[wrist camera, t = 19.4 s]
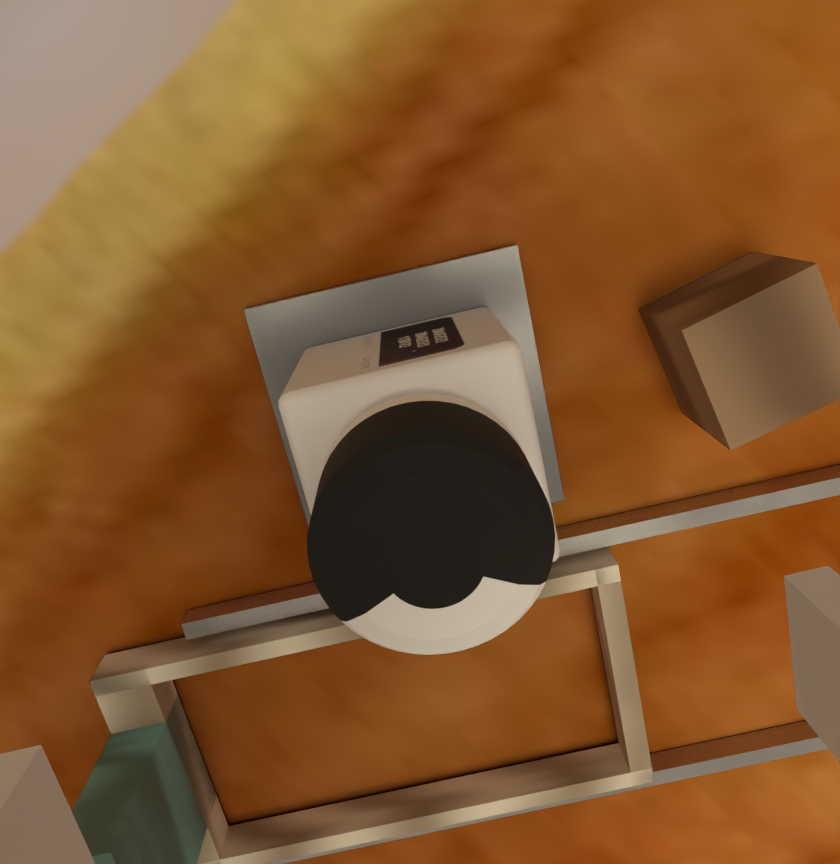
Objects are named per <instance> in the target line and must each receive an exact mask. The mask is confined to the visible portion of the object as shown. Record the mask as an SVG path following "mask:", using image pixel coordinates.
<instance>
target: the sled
mask: <svg viewBox="0 0 840 864" xmlns="http://www.w3.org/2000/svg"><path fill="white" fill-rule="evenodd" d="M587 588H591V592H592V598H593V604H594V609H595V615H596V620H597V626H598V631H599V637H600V642H601V648H602V654H603V659H604V665H605V670H606V676H607V681H608V687H609V692H610V698H611V703H612V709H613V715H614V720H615V726H616V731H617V737H618V742H619V743H617V744H612V745H607V746H603V747H598V748H593V749H589V750H584V751H579V752H575V753H570V754H565V755H561V756H556V757H551V758H546V759H542V760H537V761H532V762H528V763H523V764H518V765H514V766H509V767H504V768H500V769H495V770H490V771H486V772H481V773H476V774H471V775H467V776H462V777H457V778H453V779H448V780H443V781H439V782H434V783H429V784H425V785H420V786H415V787H410V788H406V789H401V790H396V791H392V792H387V793H382V794H378V795H373V796H368V797H364V798H359V799H354V800H349V801H345V802H340V803H335V804H331V805H326V806H321V807H317V808H312V809H307V810H303V811H298V812H293V813H289V814H284V815H279V816H274V817H270V818H265V819H260V820H256V821H251V822H246V823H242V824H237V825H232V826H228V823H227V821H226V818H225V816H224V813H223V810H222V808H221V805H220V803H219V800H218V797H217V795H216V792H215V790H214V787H213V784H212V782H211V779H210V777H209V774H208V771H207V769H206V766H205V764H204V761H203V759H202V756H201V753H200V751H199V748H198V746H197V743H196V740H195V738H194V735H193V733H192V730H191V727H190V725H189V722H188V720H187V717H186V714H185V712H184V709H183V707H182V704H181V702H180V699H179V696H178V694H177V691H176V689H175V686H174V683H173V681H172V680H174V679H179V678H183V677H188V676H192V675H197V674H202V673H206V672H211V671H215V670H220V669H224V668H229V667H233V666H238V665H242V664H247V663H251V662H256V661H261V660H265V659H270V658H274V657H279V656H283V655H288V654H292V653H297V652H301V651H306V650H310V649H315V648H320V647H324V646H329V645H333V644H338V643H342V642H347V641H351V640H356V639H360V638H363V637H362V636H360V635H359V634H357V633H355V632H354V631H352V630H351V629H350V628H349V627H347V626H346V625H345V624H344V623H343V622H341V621H340V620H339V619H338V617H337V616H336V615H335V614H334V613H333V612H332V611H331V610H330V609H329V608H328V609H323V610H319V611H314V612H310V613H305V614H301V615H296V616H292V617H287V618H283V619H278V620H274V621H269V622H265V623H260V624H256V625H251V626H247V627H242V628H238V629H233V630H229V631H224V632H220V633H215V634H211V635H206V636H202V637H197V638H193V639H188V640H187V639H186V637H184V638H179V639H175V640H170V641H166V642H161V643H157V644H152V645H148V646H143V647H139V648H134V649H130V650H125V651H121V652H116V653H112V654H107V655H105V656H104V658H103V659H102V661H101V663H100V664H99V666H98V668H97V669H96V671H95V673H94V674H93V676H92V677H91V679H90V681H89V683H90V685H91V688H92V690H93V692H94V695H95V697H96V699H97V702H98V704H99V706H100V709H101V711H102V713H103V716H104V718H105V721H106V723H107V725H108V728H109V730H110V732H111V736H110V738H109V739H108V741H107V743H106V745H105V747H104V749H103V751H102V753H101V755H100V757H99V759H98V761H97V763H96V765H95V767H94V769H93V771H92V773H91V775H90V777H89V779H88V781H87V783H86V785H85V786H84V788H83V790H82V792H81V794H80V796H79V798H78V800H77V802H76V804H75V806H74V808H73V810H72V814H73V816H74V818H75V820H76V822H77V825H78V827H79V829H80V831H81V833H82V835H83V838H84V840H85V842H86V844H87V846H88V849H89V851H90V853H91V855H92V857H93V860H94V862H95V864H267V863H272V862H277V861H281V860H286V859H291V858H296V857H300V856H305V855H310V854H315V853H319V852H324V851H329V850H334V849H338V848H343V847H348V846H353V845H357V844H362V843H367V842H371V841H376V840H381V839H386V838H390V837H395V836H400V835H405V834H409V833H414V832H419V831H424V830H428V829H433V828H438V827H442V826H447V825H452V824H457V823H461V822H466V821H471V820H476V819H480V818H485V817H490V816H495V815H499V814H504V813H509V812H514V811H518V810H523V809H528V808H532V807H537V806H542V805H547V804H551V803H556V802H561V801H566V800H570V799H575V798H580V797H585V796H589V795H594V794H599V793H604V792H608V791H613V790H618V789H622V788H627V787H632V786H637V785H641V784H646V783H651V782H654V778H653V772H652V766H651V759H650V753H649V747H648V741H647V735H646V729H645V723H644V717H643V711H642V705H641V699H640V693H639V687H638V681H637V675H636V669H635V663H634V657H633V651H632V645H631V639H630V633H629V627H628V621H627V615H626V609H625V603H624V597H623V591H622V585H621V579H620V573H619V567H618V563H617V562H616V560H615V558H614V557H613V555H612V554H611V552H610V550H609V549H608V547H602V548H598V549H593V550H589V551H584V552H580V553H575V554H571V555H566V556H562V557H558V558H557V560H556V561H554V562H552V567H551V570H550V573H549V575H548V578H547V581H546V583H545V585H544V587H543V589H542V591H541V593H540V595H539V596H538V598H537V599H542V598H546V597H551V596H555V595H560V594H565V593H569V592H574V591H578V590H583V589H587ZM537 599H536V600H537Z"/></svg>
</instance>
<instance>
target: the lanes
mask: <svg viewBox="0 0 840 864" xmlns="http://www.w3.org/2000/svg"><path fill="white" fill-rule="evenodd" d="M837 495H840V464H839V465H835V466H830V467H826V468H821V469H817V470H812V471H808V472H803V473H799V474H794V475H790V476H786V477H781V478H777V479H772V480H768V481H763V482H759V483H754V484H750V485H745V486H741V487H736V488H732V489H727V490H723V491H718V492H714V493H709V494H705V495H700V496H696V497H692V498H687V499H683V500H678V501H674V502H669V503H665V504H660V505H656V506H651V507H647V508H642V509H638V510H633V511H629V512H624V513H620V514H615V515H611V516H607V517H602V518H598V519H593V520H589V521H584V522H580V523H575V524H571V525H566V526H562V527H557V528H556V532H557V537H558V542H559V547H560V551H559V557H562V556H566V555H571V554H575V553H580V552H584V551H589V550H593V549H598V548H602V547H607V546H611V545H616V544H620V543H625V542H629V541H634V540H638V539H643V538H647V537H652V536H656V535H661V534H665V533H670V532H674V531H679V530H683V529H688V528H692V527H697V526H701V525H706V524H710V523H715V522H719V521H724V520H728V519H733V518H737V517H742V516H746V515H751V514H755V513H760V512H764V511H769V510H773V509H778V508H783V507H787V506H792V505H796V504H801V503H805V502H810V501H814V500H819V499H823V498H828V497H832V496H837ZM328 608H329V607H328V606H327V604H326V603H325V601H324V600H323V598H322V597H321V595H320V593H319V591H318V589H317V587H316V585H315V582H311V583H307V584H302V585H298V586H293V587H289V588H284V589H280V590H275V591H271V592H266V593H262V594H257V595H253V596H248V597H244V598H239V599H235V600H231V601H226V602H222V603H217V604H213V605H208V606H204V607H199V608H195V609H190V610H188V611H187V613H186V615H185V617H184V619H183V621H182V623H181V626H182V629H183V631H184V634H185V637H186V639H187V640H188V639H193V638H197V637H202V636H206V635H211V634H215V633H220V632H224V631H229V630H233V629H238V628H242V627H247V626H251V625H256V624H260V623H265V622H269V621H274V620H278V619H283V618H287V617H292V616H296V615H301V614H305V613H310V612H314V611H319V610H323V609H328ZM825 749H829V748H828V747H827V746H826V745H825V743H824V742H823V741H822V740H821V738H820V737H819V736H818V735H817V733H816V732H815V731H814V730H813V729H812V727H811V726H810V725H809V724H808V722H807V721H801V722H797V723H792V724H787V725H782V726H778V727H773V728H768V729H764V730H759V731H754V732H750V733H745V734H740V735H735V736H731V737H726V738H721V739H717V740H712V741H707V742H702V743H698V744H693V745H688V746H684V747H679V748H674V749H670V750H665V751H660V752H655V753H651V754H650V759H651V766H652V772H653V778H654V782H651V783H646V784H641V785H637V786H632V787H627V788H622V789H618V790H613V791H608V792H604V793H599V794H594V795H589V796H585V797H580V798H575V799H570V800H566V801H561V802H556V803H551V804H547V805H542V806H537V807H532V808H528V809H523V810H518V811H514V812H509V813H504V814H499V815H495V816H490V817H485V818H480V819H476V820H471V821H466V822H461V823H457V824H452V825H447V826H442V827H438V828H433V829H428V830H424V831H419V832H414V833H409V834H405V835H400V836H395V837H390V838H386V839H381V840H376V841H371V842H367V843H362V844H357V845H353V846H348V847H343V848H338V849H334V850H329V851H324V852H319V853H315V854H310V855H305V856H300V857H296V858H291V859H286V860H281V861H277V862H272V863H270V864H284V863H289V862H294V861H299V860H303V859H308V858H313V857H318V856H322V855H327V854H332V853H336V852H341V851H346V850H351V849H355V848H360V847H365V846H370V845H374V844H379V843H384V842H389V841H393V840H398V839H403V838H408V837H412V836H417V835H422V834H427V833H431V832H436V831H441V830H446V829H450V828H455V827H460V826H464V825H469V824H474V823H479V822H483V821H488V820H493V819H498V818H502V817H507V816H512V815H517V814H521V813H526V812H531V811H536V810H540V809H545V808H550V807H555V806H559V805H564V804H569V803H573V802H578V801H583V800H588V799H592V798H597V797H602V796H607V795H611V794H616V793H621V792H626V791H630V790H635V789H640V788H645V787H649V786H654V785H659V784H664V783H668V782H673V781H678V780H682V779H687V778H692V777H697V776H701V775H706V774H711V773H716V772H720V771H725V770H730V769H735V768H739V767H744V766H749V765H754V764H758V763H763V762H768V761H773V760H777V759H782V758H787V757H792V756H796V755H801V754H806V753H810V752H815V751H820V750H825Z"/></svg>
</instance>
